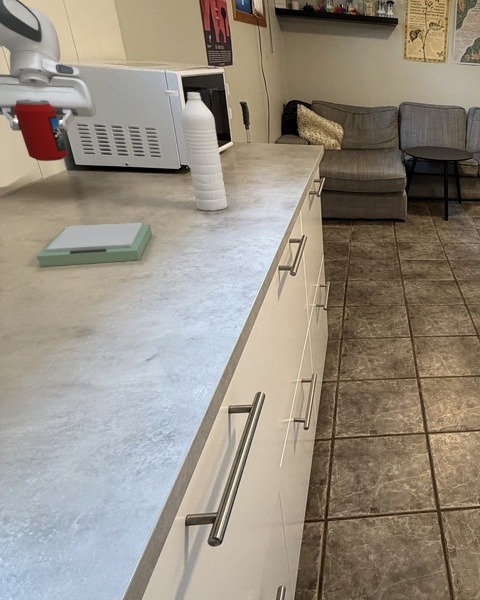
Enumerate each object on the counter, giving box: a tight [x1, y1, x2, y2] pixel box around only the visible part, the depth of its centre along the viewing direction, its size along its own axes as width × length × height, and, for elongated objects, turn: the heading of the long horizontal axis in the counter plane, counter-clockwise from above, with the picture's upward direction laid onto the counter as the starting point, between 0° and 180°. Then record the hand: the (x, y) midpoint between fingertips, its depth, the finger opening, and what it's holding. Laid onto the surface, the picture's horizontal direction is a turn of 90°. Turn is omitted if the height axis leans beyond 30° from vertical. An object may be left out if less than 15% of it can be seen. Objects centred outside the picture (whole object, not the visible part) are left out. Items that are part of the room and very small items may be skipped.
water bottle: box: [164, 89, 228, 212], centre depth 105 cm, size 9×6×25 cm
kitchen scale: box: [36, 222, 153, 268], centre depth 85 cm, size 14×14×2 cm
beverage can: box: [14, 100, 68, 162], centre depth 103 cm, size 7×7×12 cm
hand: (40, 129), depth 102 cm, fingers closed on beverage can, 7 cm apart
